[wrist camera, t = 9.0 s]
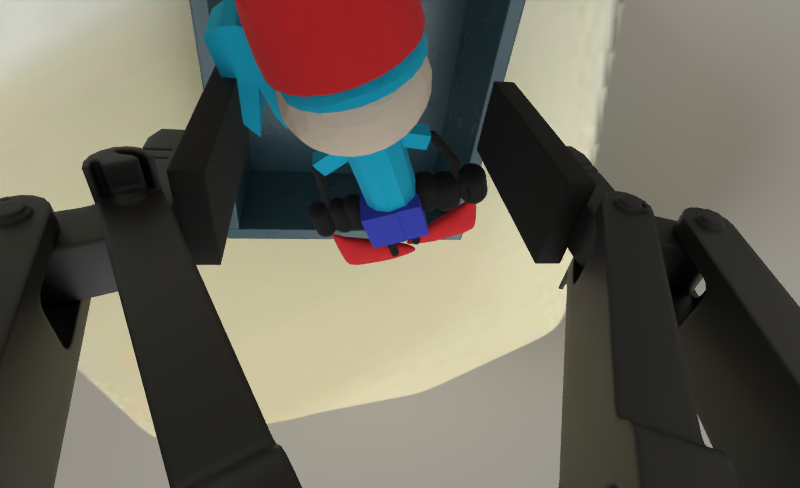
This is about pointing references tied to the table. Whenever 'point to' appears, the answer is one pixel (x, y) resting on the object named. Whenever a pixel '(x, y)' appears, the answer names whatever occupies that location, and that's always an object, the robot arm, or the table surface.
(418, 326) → the table surface
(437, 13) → the tote
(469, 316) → the table surface
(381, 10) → the toy figure
